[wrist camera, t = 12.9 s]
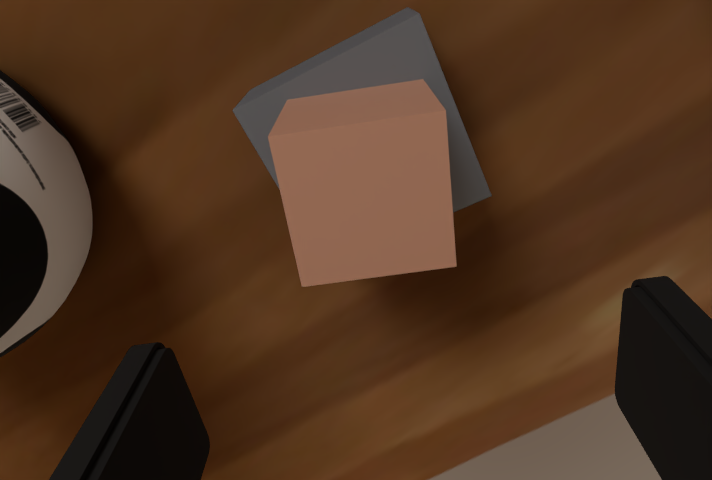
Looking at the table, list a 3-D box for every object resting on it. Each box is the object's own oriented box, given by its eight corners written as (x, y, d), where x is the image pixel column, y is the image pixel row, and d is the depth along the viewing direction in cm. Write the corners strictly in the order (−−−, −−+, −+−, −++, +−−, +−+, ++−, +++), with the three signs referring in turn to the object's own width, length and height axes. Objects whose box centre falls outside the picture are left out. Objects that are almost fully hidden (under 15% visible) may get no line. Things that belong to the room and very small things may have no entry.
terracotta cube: (423, 79, 22) (446, 110, 17) (433, 205, 25) (456, 266, 20) (287, 99, 23) (267, 136, 17) (312, 222, 25) (302, 286, 20)
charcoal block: (407, 6, 26) (419, 13, 21) (470, 162, 29) (491, 195, 25) (251, 88, 27) (232, 110, 23) (329, 226, 31) (326, 267, 27)
